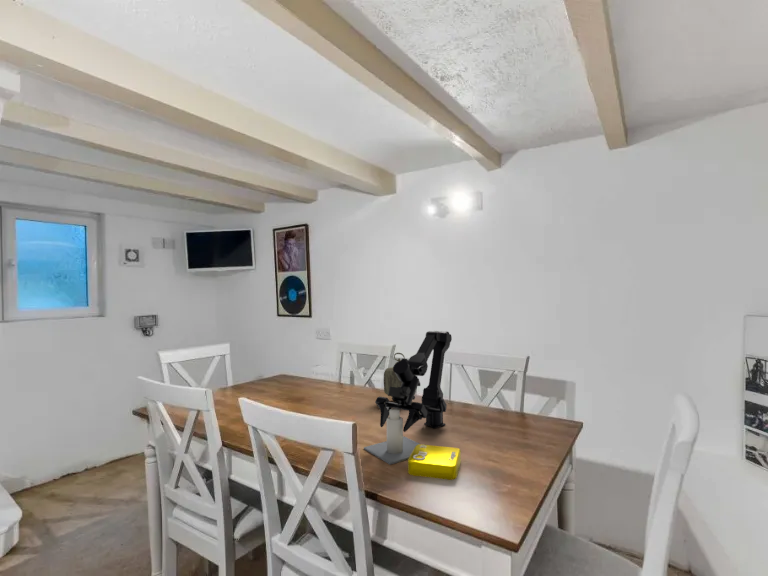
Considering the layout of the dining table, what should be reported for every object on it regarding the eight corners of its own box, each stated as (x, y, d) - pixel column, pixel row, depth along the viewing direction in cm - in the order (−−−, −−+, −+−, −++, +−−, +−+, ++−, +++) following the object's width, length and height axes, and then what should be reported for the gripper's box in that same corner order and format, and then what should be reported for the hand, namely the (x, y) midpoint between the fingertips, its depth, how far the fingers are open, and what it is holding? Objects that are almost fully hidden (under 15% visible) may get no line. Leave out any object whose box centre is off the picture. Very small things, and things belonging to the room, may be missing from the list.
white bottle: (403, 447, 142) (402, 407, 142) (403, 454, 137) (402, 412, 137) (387, 447, 143) (386, 407, 142) (386, 453, 137) (386, 412, 137)
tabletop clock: (416, 404, 198) (415, 353, 198) (404, 408, 191) (403, 355, 191) (394, 399, 207) (393, 350, 208) (382, 402, 201) (381, 352, 201)
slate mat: (404, 437, 153) (404, 436, 153) (432, 451, 140) (432, 449, 140) (363, 448, 143) (363, 447, 143) (390, 464, 130) (390, 463, 130)
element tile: (456, 482, 119) (456, 465, 119) (406, 475, 123) (406, 460, 123) (461, 460, 133) (461, 446, 133) (416, 456, 137) (416, 442, 137)
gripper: (377, 374, 148) (360, 412, 139) (423, 380, 138) (407, 421, 129) (389, 391, 155) (373, 428, 145) (433, 397, 145) (419, 438, 135)
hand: (392, 428), depth 138 cm, fingers open, 9 cm apart
